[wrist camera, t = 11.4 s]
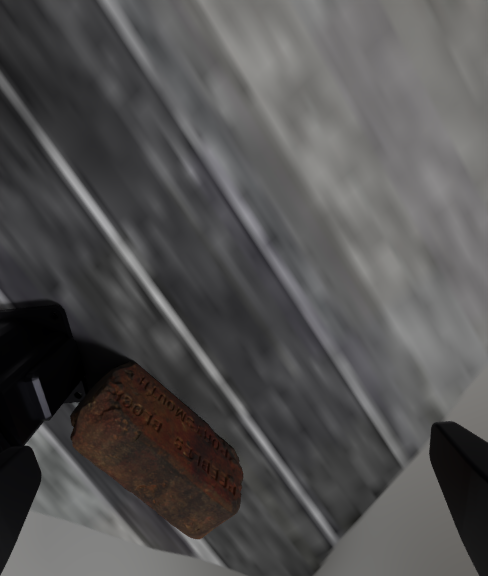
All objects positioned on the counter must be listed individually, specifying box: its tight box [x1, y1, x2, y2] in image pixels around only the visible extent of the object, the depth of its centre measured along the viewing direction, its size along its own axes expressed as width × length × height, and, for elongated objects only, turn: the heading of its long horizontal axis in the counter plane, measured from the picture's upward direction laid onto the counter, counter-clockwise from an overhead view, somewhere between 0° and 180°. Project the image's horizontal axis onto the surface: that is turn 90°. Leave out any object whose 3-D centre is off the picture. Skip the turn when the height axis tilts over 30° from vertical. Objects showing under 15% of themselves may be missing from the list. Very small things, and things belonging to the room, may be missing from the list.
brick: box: [70, 362, 243, 539], centre depth 22 cm, size 11×4×5 cm, turn 44°
